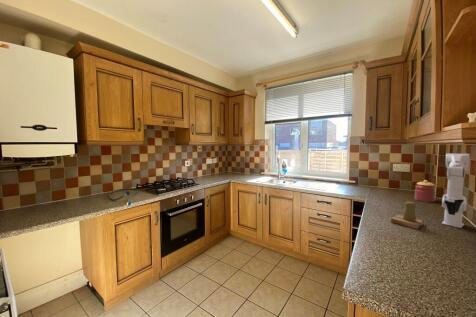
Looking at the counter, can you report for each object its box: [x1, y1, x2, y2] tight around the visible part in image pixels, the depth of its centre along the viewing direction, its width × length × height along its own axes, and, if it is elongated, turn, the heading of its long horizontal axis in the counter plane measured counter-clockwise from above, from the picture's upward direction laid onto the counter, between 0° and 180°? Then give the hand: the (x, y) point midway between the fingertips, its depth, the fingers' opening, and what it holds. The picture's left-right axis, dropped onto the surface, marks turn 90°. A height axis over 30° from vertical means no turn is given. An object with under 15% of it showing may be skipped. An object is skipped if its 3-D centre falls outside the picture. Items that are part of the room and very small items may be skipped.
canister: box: [413, 179, 437, 203], centre depth 169 cm, size 13×13×18 cm
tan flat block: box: [390, 214, 424, 230], centre depth 121 cm, size 12×12×2 cm
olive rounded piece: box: [403, 201, 417, 222], centre depth 119 cm, size 6×6×11 cm
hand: (453, 213), depth 108 cm, fingers open, 7 cm apart
